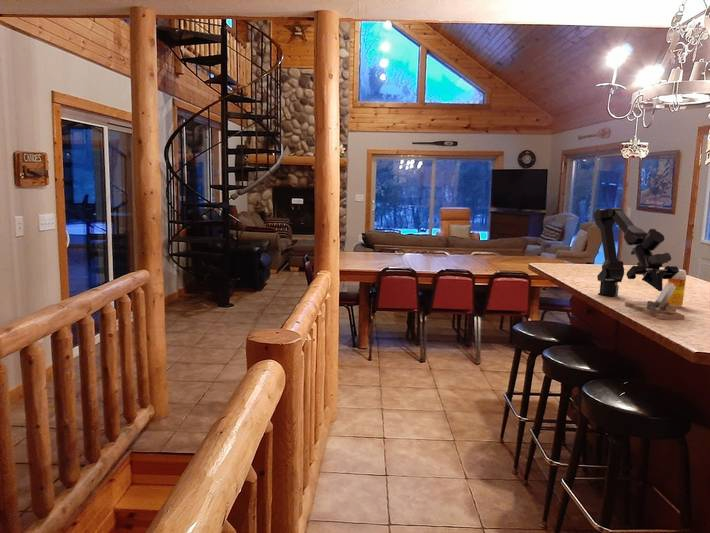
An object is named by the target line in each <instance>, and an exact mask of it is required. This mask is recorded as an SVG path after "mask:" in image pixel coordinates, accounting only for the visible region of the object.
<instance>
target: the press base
mask: <svg viewBox="0 0 710 533" xmlns="http://www.w3.org/2000/svg"><path fill="white" fill-rule="evenodd" d="M656 304H657V303H655V301H651V300H647V301H646V300H645V301H643V300H642V301H639V300H638V301H634V300H633V301H628V300H627V301H625V302H624V306H625V305H626V306H625V307H628V306H629V307H628V308H631V309H633V308H634V310H636V311H638V310H639V312H641V313H643V312H644V313H643V314H647V315H649V316H651V315H652V316H651V317H654V318H656V317H657V319H660V320H684V319H685V314H682V313H680V312H677V309H676V308H677V307H674V306H669V304H670V303H669V302H666V304H665V306H664V307H663V308H656Z"/></svg>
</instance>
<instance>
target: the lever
mask: <svg viewBox="0 0 710 533" xmlns="http://www.w3.org/2000/svg"><path fill="white" fill-rule="evenodd" d="M675 288H676V287H675V286H674V284H673V283H668V282H666V283H665V285H664V286H663V290H662V291H660V293H659V295H658V296H657V298H656V300H655V301H654V302H655V303H657V304H656V308H663V307H664V306H665V304H666V302H667V301H668V299H669V298H670V296H671V295H672V293H673V291H674V290H675Z"/></svg>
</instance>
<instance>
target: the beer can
mask: <svg viewBox="0 0 710 533" xmlns="http://www.w3.org/2000/svg"><path fill="white" fill-rule="evenodd" d="M678 269H679V272H678V273H677V274H676V275H675V276H674V277H673V278H671V279H667V283H673V284H674V286H675V287H676V288H675V290H674V291H673V293H672V295H671V296H670V298H669V299H668V301H667V302H669V303H670V304H669V306H674V307H675V308H681V307H682V306H683V304H684V303H683V302H684V295H685V287H686V280H687V271H686V270H685V269H680V268H678Z"/></svg>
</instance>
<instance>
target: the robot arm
mask: <svg viewBox="0 0 710 533" xmlns="http://www.w3.org/2000/svg"><path fill="white" fill-rule="evenodd" d="M593 218H594V223H595V225H596V227H597V228H598V229H599V230H600V237H601V243H602V250H603V255H604V262H603V263H602V265H601V271H600V272H599V273H598V274H597V281H599V282H600V284H599V286H600V287H599V292H598V293H597V295H600V296H605V297H611V298H613V297H617V296H618V295H619V285H618V284H619V283H622V281H623V278H624V276H625V275H626V277H627V279H628V280H635V279H636V278H637V276H638V275H639V276H640V275H641V276H642V279H641V281H642V282H643V281H644V282H645V283H647V284H648V285H650V286H651V287H652V288H654V289H656V290H657V292H658V291H659V292H661V291H662V290H663V288H664V286H663V280H668V279H671V278H673V277H674V276H675V275H676V274H677V273H678V272H679V269H680V268H679V267H678V266H676V265H666V266H665V267H664V268H662V267H663V266H664V265H663V264H665V263H669V262H670V261H672V256H671V254H670V252H664V253H655V254H653V252H652V251H656V249H657V248H658V247H659V246H660V245H661V244H662V243H663V242H664V241H665V236H664V234H662V233H661V232H660V231H657V229H655V228H650V229H649V230H648V231H647V232H646V231H645V230H644V229H642V228H640V227H637V226H636V225H635V224H634V223H633V221H632V220H631V219H630V218H629V217H628V215H627V214H626V213H625V212H624V209H623V208H621V207H610V208H605V209H603V208H602V209H600V208H598V209H596V211H595V212H594V213H593ZM615 223H616V224H617V227H619V228H620V230H621V231H622V232H623V239H624V241H625V242H626V245H628V246H635V247H633V248H632V250H631V251H630V255H633V256H634V255H635V257H636V259H637V261H638V262H637V264H636V265H632V266H631V267H630V268H629V270H627V272H626V274H625V268H624V262H623V260H619V259H618V255H617V249H616V241H615V236H614V228H613V226H614V225H615Z"/></svg>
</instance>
